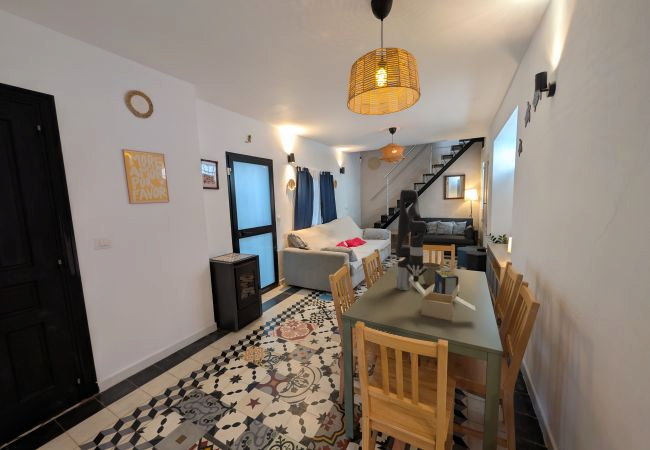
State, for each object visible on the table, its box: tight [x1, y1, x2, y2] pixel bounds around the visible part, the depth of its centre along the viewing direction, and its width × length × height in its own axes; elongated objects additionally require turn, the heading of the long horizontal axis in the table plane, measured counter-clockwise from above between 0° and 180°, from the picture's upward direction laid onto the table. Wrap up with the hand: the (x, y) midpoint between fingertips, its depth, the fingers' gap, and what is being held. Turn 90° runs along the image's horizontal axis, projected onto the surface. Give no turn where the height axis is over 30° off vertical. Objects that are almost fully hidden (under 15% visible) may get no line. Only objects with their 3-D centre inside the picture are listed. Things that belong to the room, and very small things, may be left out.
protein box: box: [434, 270, 460, 297], centre depth 177 cm, size 10×15×16 cm
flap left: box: [409, 275, 435, 299], centre depth 153 cm, size 8×14×13 cm
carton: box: [421, 292, 454, 322], centre depth 150 cm, size 16×14×10 cm
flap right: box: [452, 283, 476, 313], centre depth 142 cm, size 8×14×13 cm
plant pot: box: [420, 262, 442, 287], centre depth 198 cm, size 15×15×16 cm
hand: (416, 281), depth 154 cm, fingers closed
